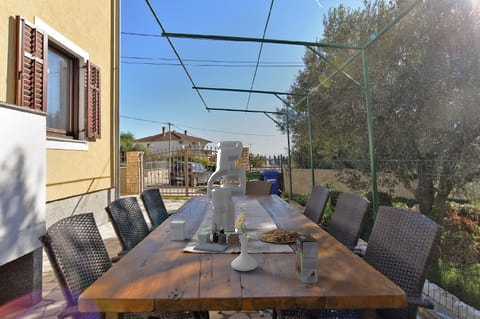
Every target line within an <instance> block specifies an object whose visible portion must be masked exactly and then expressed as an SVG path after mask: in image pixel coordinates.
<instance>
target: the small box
mask: <svg viewBox="0 0 480 319" xmlns="http://www.w3.org/2000/svg"><path fill="white" fill-rule="evenodd" d="M169 223H170V224H169V232H170V233H169V234H170V236H169V238H170V241H184V240H185V239H187V235H186V234H187V231H186V230H187V226H186V220H172V221H171V222H169Z"/></svg>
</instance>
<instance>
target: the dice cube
mask: <svg viewBox="0 0 480 319" xmlns="http://www.w3.org/2000/svg"><path fill="white" fill-rule="evenodd" d="M214 244H216V245H226V244H228V234H227V233H224V234H223V233H219V232H218V243H214Z"/></svg>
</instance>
